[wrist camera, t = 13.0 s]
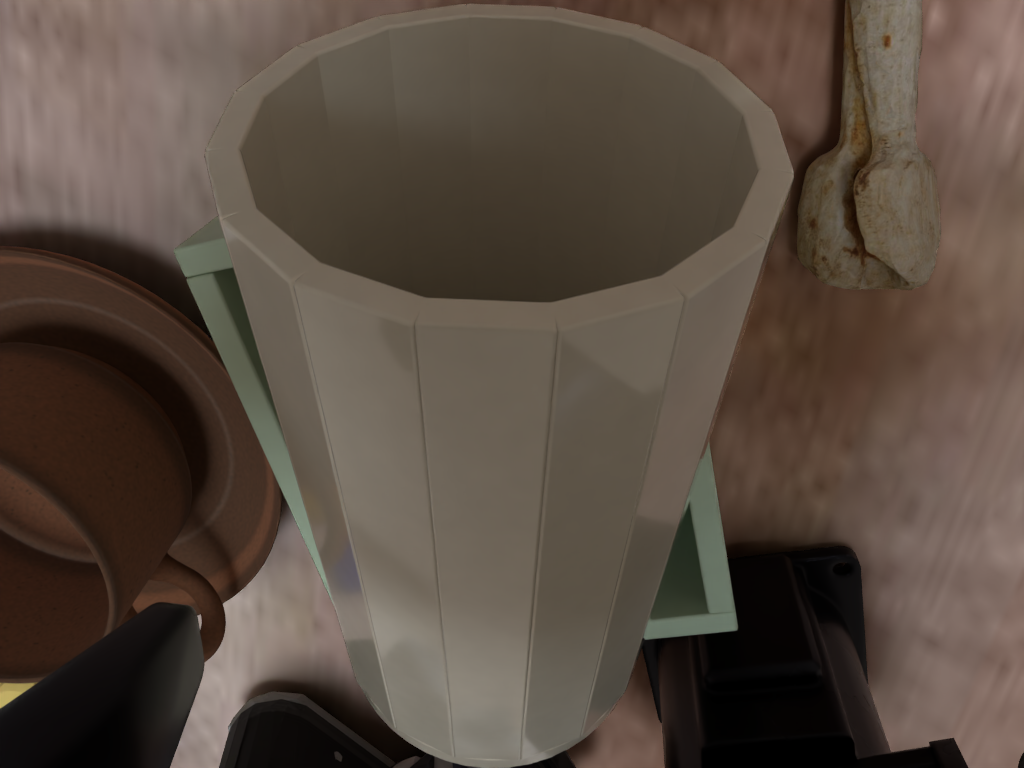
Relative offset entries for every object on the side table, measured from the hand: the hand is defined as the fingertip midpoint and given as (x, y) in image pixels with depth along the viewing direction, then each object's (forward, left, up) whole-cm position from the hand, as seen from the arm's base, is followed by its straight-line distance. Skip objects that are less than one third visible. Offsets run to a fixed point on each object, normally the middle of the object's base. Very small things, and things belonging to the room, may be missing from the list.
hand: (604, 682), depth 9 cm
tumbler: (-6, +4, -8) cm, 10 cm away
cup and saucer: (-2, +15, -13) cm, 20 cm away
